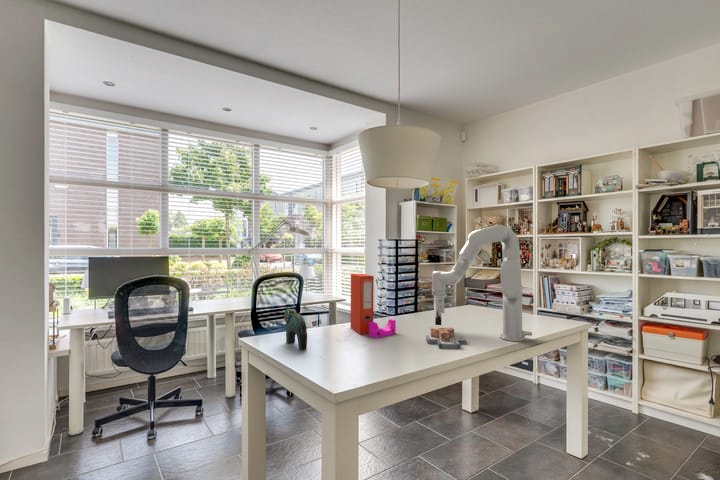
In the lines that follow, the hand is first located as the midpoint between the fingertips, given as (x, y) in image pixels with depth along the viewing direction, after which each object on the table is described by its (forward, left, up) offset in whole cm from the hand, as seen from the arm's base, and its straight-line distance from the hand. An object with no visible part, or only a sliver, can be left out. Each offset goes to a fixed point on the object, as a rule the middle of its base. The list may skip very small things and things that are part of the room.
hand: (438, 324), depth 211 cm
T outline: (0, +26, -4) cm, 26 cm away
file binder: (+44, +2, -4) cm, 44 cm away
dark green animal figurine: (+74, +34, -4) cm, 81 cm away
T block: (0, +15, -4) cm, 16 cm away
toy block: (+31, +11, -4) cm, 33 cm away
